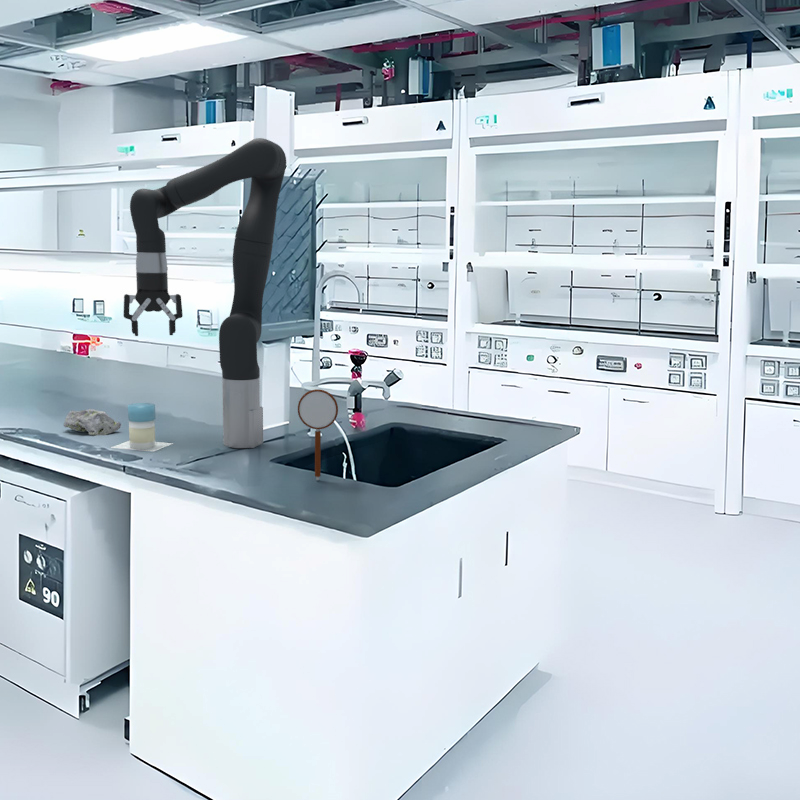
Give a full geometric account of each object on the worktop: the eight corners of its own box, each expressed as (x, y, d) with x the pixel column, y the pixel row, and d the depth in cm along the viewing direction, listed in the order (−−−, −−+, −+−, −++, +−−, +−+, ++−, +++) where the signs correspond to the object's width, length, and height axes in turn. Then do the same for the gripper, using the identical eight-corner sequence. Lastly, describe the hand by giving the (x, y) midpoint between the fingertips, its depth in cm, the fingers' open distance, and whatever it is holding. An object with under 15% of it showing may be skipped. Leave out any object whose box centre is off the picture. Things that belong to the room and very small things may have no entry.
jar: (160, 445, 214) (159, 417, 213) (147, 450, 208) (146, 422, 207) (138, 443, 216) (137, 416, 215) (124, 448, 210) (123, 420, 209)
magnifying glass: (297, 481, 185) (297, 389, 182) (298, 479, 187) (298, 388, 184) (337, 482, 185) (337, 390, 182) (338, 480, 187) (338, 389, 183)
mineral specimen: (54, 434, 227) (53, 408, 226) (72, 429, 234) (71, 404, 233) (104, 439, 222) (103, 413, 221) (121, 434, 229) (120, 409, 228)
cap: (160, 417, 213) (160, 403, 212) (146, 422, 207) (146, 408, 206) (137, 416, 215) (136, 402, 214) (123, 420, 209) (122, 406, 208)
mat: (173, 444, 217) (173, 443, 217) (153, 453, 208) (153, 451, 208) (131, 441, 220) (131, 439, 220) (110, 449, 211) (110, 447, 211)
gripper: (178, 270, 222) (180, 333, 225) (121, 270, 217) (123, 334, 219) (182, 271, 215) (184, 336, 218) (123, 271, 210) (125, 337, 213)
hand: (153, 335), depth 219 cm, fingers open, 8 cm apart
